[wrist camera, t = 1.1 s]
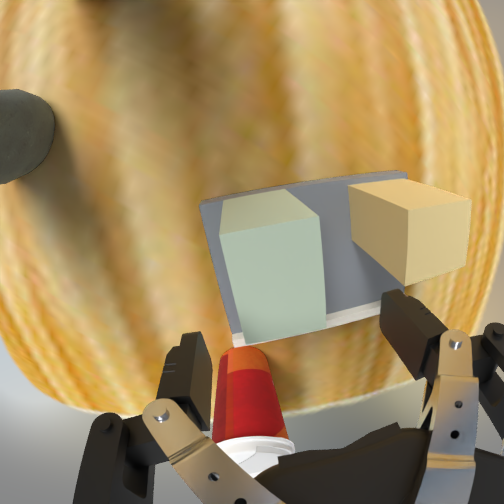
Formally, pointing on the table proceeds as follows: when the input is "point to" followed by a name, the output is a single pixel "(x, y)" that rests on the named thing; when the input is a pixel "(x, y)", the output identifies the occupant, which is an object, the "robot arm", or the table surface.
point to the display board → (333, 249)
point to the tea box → (274, 265)
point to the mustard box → (410, 227)
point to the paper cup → (249, 412)
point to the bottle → (23, 133)
